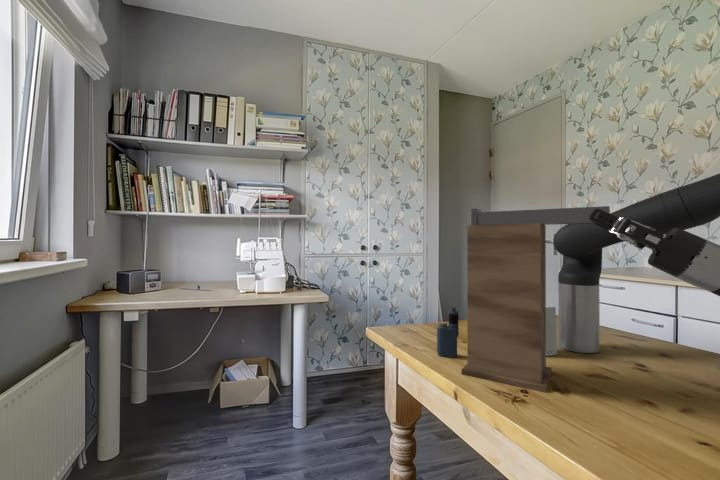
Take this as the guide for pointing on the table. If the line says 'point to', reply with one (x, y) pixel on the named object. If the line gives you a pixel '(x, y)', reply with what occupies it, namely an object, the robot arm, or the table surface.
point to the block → (536, 216)
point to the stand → (507, 304)
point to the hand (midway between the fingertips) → (591, 214)
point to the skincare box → (551, 331)
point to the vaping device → (448, 336)
